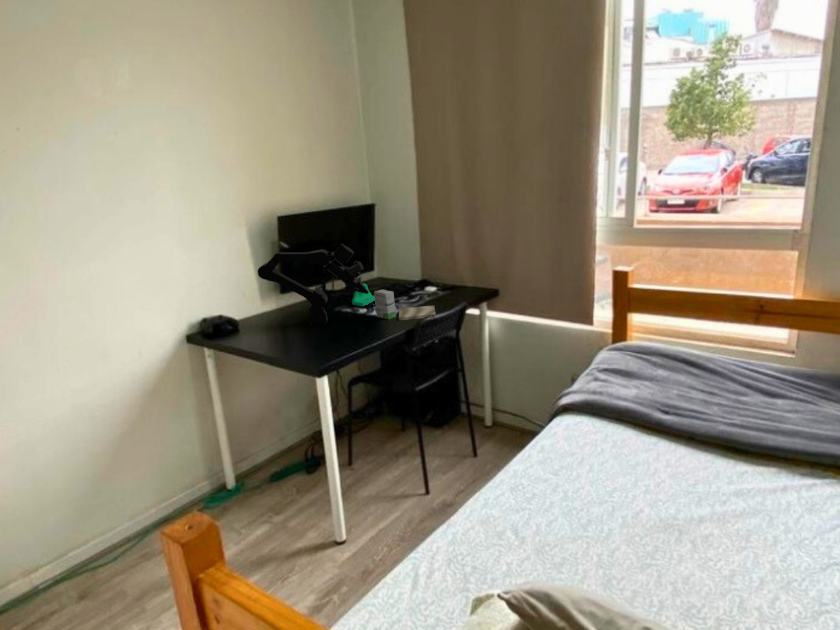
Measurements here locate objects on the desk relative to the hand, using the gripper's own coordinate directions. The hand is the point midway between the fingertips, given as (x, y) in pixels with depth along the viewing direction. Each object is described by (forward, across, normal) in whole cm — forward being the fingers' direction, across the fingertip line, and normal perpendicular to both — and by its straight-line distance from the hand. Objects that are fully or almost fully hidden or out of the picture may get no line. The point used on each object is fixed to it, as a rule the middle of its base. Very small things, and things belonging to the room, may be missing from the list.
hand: (368, 293), depth 247 cm
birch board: (+23, 0, -6) cm, 24 cm away
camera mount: (+6, +25, +11) cm, 28 cm away
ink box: (+13, 0, +4) cm, 14 cm away
